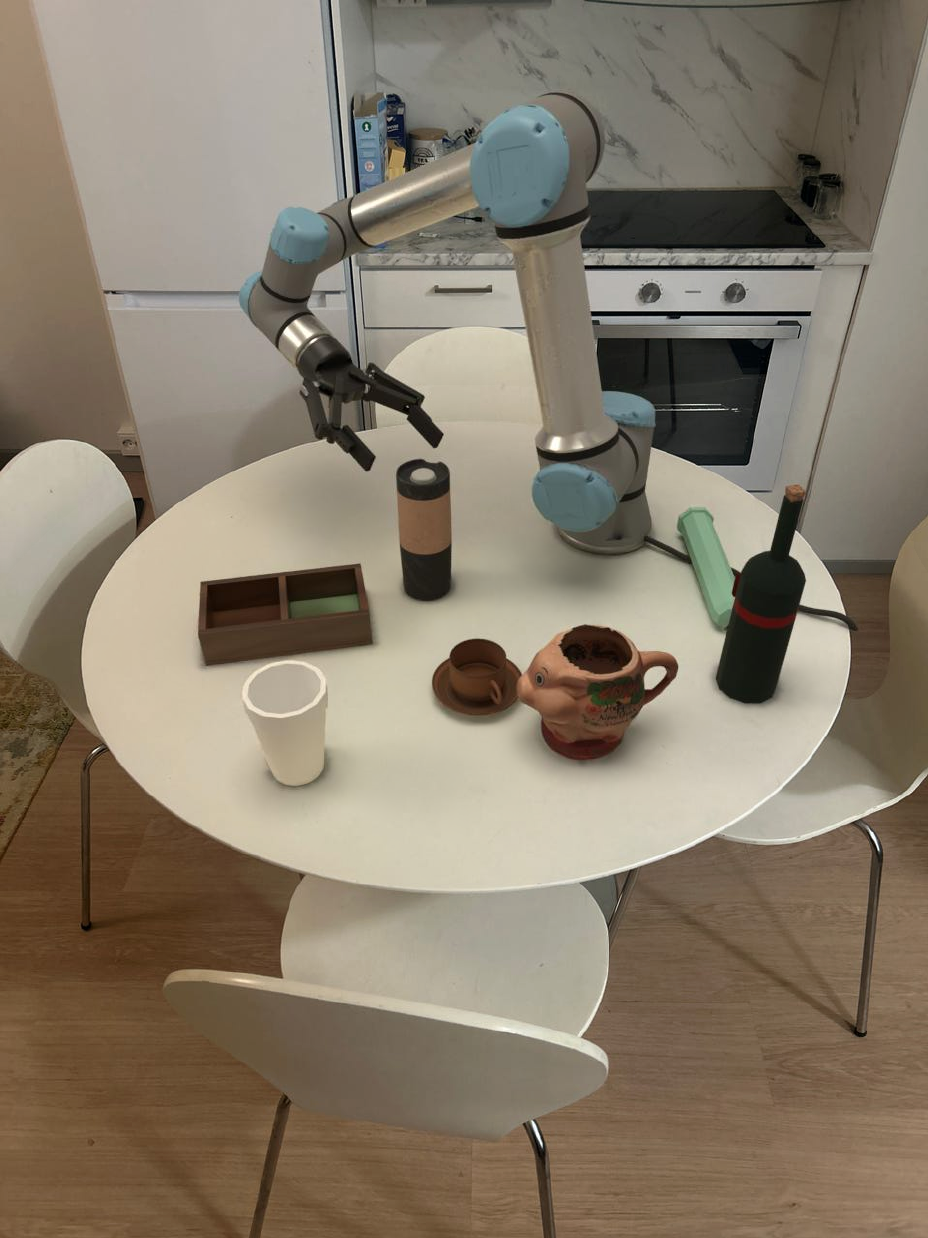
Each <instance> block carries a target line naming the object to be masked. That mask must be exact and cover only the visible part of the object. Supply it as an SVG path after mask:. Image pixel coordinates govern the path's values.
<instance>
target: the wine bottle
mask: <svg viewBox="0 0 928 1238" xmlns="http://www.w3.org/2000/svg"><path fill="white" fill-rule="evenodd" d="M784 493H785V494H784V495H783V497H782V502H781V506H780V509H779V512H778V516H777V517H778V518H777V522H776V525H775V528H774V534H773V537H772V541H771V545H770V549H769V550H765V551H761V552H760V553H757V554H754V555H753V556H751V557H750V558H749V559H748V560H747V561H746V562H745V564H744V565H743V567H742V569H741V571H740V572H741V573H738V574H737V576H736V577H735V576H734V577H735V580H734V585H733V589H732V595H733V597H735V599H734V604H733V608H732V612H731V616H730V620H729V624H728V626H727V627H726V628H725V629H723V631H726V633H725V637H724V641H723V645H722V649H721V654H720V658H719V662H718V666H717V671H716V675H715V681H716V684H717V687H718V690H720V691H721V692H722V694H724V695H726V696H727V697H728V698H729V699H732V700H734V701H737V702H740V703H743V704H763V703H764V702H766V701H768V700H770V699H772V698H773V697H774V694H775V692H776V690H777V687H778V683H779V679H780V676H781V673H782V670H783V665H784V662H785V658H786V655H787V650H788V647H789V644H790V640H791V636H792V633H793V630H794V625H795V622H796V618H797V616H798V612H799V611H798V608H799V605H801V600H802V597H803V594H804V590H805V586H806V583H807V578H806V574H805V572H804V569H803V568H802V566H801V564H800V562H799V561H798V559H796V558H794V557H793V556H791V555H790V553H791V549H792V545H793V541H794V537H795V533H796V530H797V526H798V523H799V519H800V516H801V511H802V507H803V504H804V498H805V495H806V493H807V491H806V490H805V488H803V487H802V486H801V485H800V484H799V483H798V484H790V485H785V492H784Z"/></svg>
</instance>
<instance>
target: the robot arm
mask: <svg viewBox="0 0 928 1238" xmlns="http://www.w3.org/2000/svg"><path fill="white" fill-rule="evenodd" d="M605 147H606V135H605V128H604V124H603V121H602V119H601V116H600V115H599V113H598V111H597V109H596V108H595V107H594V106H593V104H591V102H590V101H588V99H586V98H585V97H583V96H582V95H579V94H578V93H575V92H572V91H566V90H553V91H549V92H546V93H544V94H541V95H539V96H536V98H533V99H531V100H528V101H526V102H524V103H520V104H518V105H516V106H513V107H511V108H508V109H505V110H504V111H503V112H501V113H500V114H499V115H498V116H496V117H495V118H494V119H493V120H492V121H491V122H490V123H489V124H487V126H485V128H484V129H483V130H482V132H481V133H480V134H479V136H478V138H477V140H476V142H473V143H471V144H469V145H466V146H465V147H462V148H460V149H458V150H455V151H453V152H451V153H449V154H446V155H444V156H441V157H439V158H437V159H434V160H432V161H430V162H427V163H425V164H423V165H421V166H418V167H416V168H413V169H412V170H410V171H407V172H405V173H402V174H400V175H398V176H396V177H393V178H391V179H389V180H386V181H384V182H382V183H380V184H377V185H374V186H372V187H370V188H368V189H365V190H363V191H361V192H359V193H357V194H355V195H352V196H349V197H345V198H342V199H339V200H337V201H335V202H334V203H332V204H330V205H328V206H327V207H325V208H323V209H321V210H319V211H317V212H315V211H314V210H312V209H309V208H306V207H302V206H297V207H294V206H287V207H285V208H283V209H281V210H280V211H279V213H278V215H277V218H276V220H275V223H274V226H273V228H272V230H271V232H270V237H269V243H268V247H267V251H266V254H265V258H264V264H263V267H262V269H261V270H258V271H255V272H253V273H252V274H250V275H249V276H248V277H247V278H246V279H245V283H244V284H243V285H241V286H240V289H239V292H238V302H239V306H240V308H241V309H242V311H243V312H244V313H245V315H246V316H247V318H248V319H249V320H250V322H251V324H252V325H253V326H254V327H255V328H257V329H258V330H259V331H260V333H262V334H263V335H264V336H265V337H266V339H267V340H268V341H269V342H270V343H271V344H272V345H273V346H274V347H275V348H276V349H277V351H278V353H280V354H281V355H282V357H284V358H285V359H286V360H287V361H288V363H289V364H290V365H291V366H292V367H293V368H294V369H295V371H297V372H298V374H299V375H300V376H301V377H302V378H303V379H302V383H301V386H300V388H299V389H300V390H299V393H298V394H299V395H300V396H301V398H302V399H303V400H304V402H305V404H306V409H307V412H308V416H309V419H310V423H311V427H312V430H313V434H314V437H315V438H316V439H317V440H319V441H322V440H324V438H325V439H326V442H327V443H328V444H329V445H333V444H335V443H336V444H337V445H338V447H339V448H340V449H341V450H342V451H343V452H344V453H346V454H349V455H350V456H351V457H352V458H353V459H354V461H355V462H356V463H357V464H358V465H359V466H360V467H361V468H362V470H364V471H365V473H367V472H370V471H371V470H372V468H373V465H374V463H375V460H376V458H377V455H375V453H373V452H372V450H371V449H370V447H368V446H367V445H366V444H365V443H364V441H363V440H362V439H361V438H360V436H358V435H357V434H356V432H355V431H354V430H353V429H352V428H351V427H350V426H349V425H348V424H344V425H343V426H342V410H343V409H342V408H343V404H344V405H347V404H350V403H352V402H357V401H364V402H366V403H369V402H373V403H376V404H377V405H381V406H383V407H386V408H389V409H391V410H393V411H396V412H399V413H401V414H404V415H406V416H407V418H406V421H407V422H408V423H409V424H410V425H411V426H412V427H413V428H414V430H416V431H417V433H419V434H420V436H421V437H422V438H423V439H424V440H425V441H426V442H427V443H428V444H429V445H430V446H431V448H432V449H437V448H438V447H439V445H440V443H441V442H442V440H443V437H444V435H445V433H444V432H443V431H442V430H441V429H440V427H438V426H437V425H436V424H435V423H434V422H433V419H432V417H431V416H430V415H429V414H428V413H427V412H426V411H425V410H424V409H423V408H422V405H423V403H424V401H425V398H426V396H425V395H424V394H422V393H421V392H419V391H417V390H416V389H414V388H412V387H411V386H409V385H407V384H406V383H404V382H402V381H401V380H399V379H396V378H395V377H393V376H391V375H390V374H389V373H387V372H385V371H383V370H382V369H381V368H380V367H379V366H377V365H376V364H375V363H374V362H369V363H368V364H367V367H365V368H362V369H361V368H360V367H358V366H356V365H355V364H354V362H353V359H352V355H351V353H350V352H349V350H348V349H346V347H345V346H344V345H343V344H342V343H341V342H340V341H339V340H338V339H337V338H336V337H335V336H334V334H333V333H332V332H331V331H330V330H329V329H328V327H327V326H325V324H323V322H321V321H320V319H319V318H318V317H316V316H315V314H314V313H313V312H312V311H311V310H310V309H309V307H308V303H309V301H310V298H311V295H312V292H313V290H314V287H315V283H316V280H317V278H318V276H319V275H320V274H321V273H323V272H326V271H327V270H328V269H330V268H332V267H334V266H336V265H337V264H339V263H341V262H343V261H344V260H346V259H348V258H351V257H352V256H354V255H357V254H358V253H361V252H364V251H367V250H369V249H371V248H374V247H376V246H379V245H380V244H384V243H386V242H389V241H391V240H394V239H397V238H399V237H402V236H405V235H407V234H410V233H412V232H414V231H418V230H420V229H423V228H425V227H428V226H431V225H434V224H436V223H438V222H441V221H444V220H447V219H449V218H452V217H454V216H457V215H459V214H462V213H464V212H468V211H470V210H473V209H475V208H478V207H479V208H480V209H481V210H482V211H483V212H485V213H486V214H487V215H488V216H489V218H490V219H491V220H492V221H493V225H494V228H495V235H496V239H497V240H498V241H499V242H501V243H502V244H504V245H505V246H506V247H508V249H510V251H511V254H512V259H513V265H514V270H515V275H516V281H517V287H518V292H519V298H520V303H521V310H522V315H523V320H524V326H525V332H526V337H527V343H528V349H529V354H530V355H529V356H530V360H531V366H532V371H533V377H534V382H535V388H536V393H537V399H538V404H539V410H540V416H541V421H542V427H541V428H540V429H539V431H538V432H537V433H536V435H535V437H534V443H535V450H536V454H537V460H538V466H539V471H538V472H537V473H536V474H535V476H534V477H533V482H532V485H531V499H532V502H533V504H534V507H535V508H536V510H537V511H538V513H539V514H540V515H541V516H542V517H543V518H544V519H545V520H546V521H549V522H550V523H552V525H553V526H555V527H556V528H557V532H558V533H559V535H560V536H561V539H563V541H565V542H566V543H567V544H569V545H570V546H572V547H574V548H576V549H579V550H581V551H584V552H587V553H592V554H598V555H620V554H621V555H622V554H626V553H630V552H633V551H635V550H638V549H640V548H641V547H643V546H644V545H645V544H646V543H648V544H649V545H652V546H654V547H656V548H659V549H660V550H662V551H664V552H667V553H668V554H670V555H672V556H674V557H676V558H678V559H680V560H682V561H684V562H686V563H689V564H692V565H693V563H692V561H691V558H690V555H687V554H685V553H683V552H681V551H679V550H677V549H676V548H674V547H672V546H670V545H668V544H666V543H664V542H662V541H659V540H657V539H655V538H653V537H651V533H652V526H653V525H652V515H651V511H650V507H649V501H648V498H647V494H646V487H647V480H648V473H649V466H650V458H651V452H652V451H651V450H652V446H653V445H652V444H653V437H654V432H655V431H654V430H655V428H656V409H655V406H654V405H653V403H651V402H650V401H649V400H647V399H645V398H643V397H641V396H639V395H636V394H633V393H628V392H624V391H623V392H622V391H614V390H603V389H602V383H601V377H600V370H599V363H598V362H599V361H598V355H597V348H596V347H597V346H596V342H595V333H594V327H593V320H592V312H591V304H590V297H589V289H588V282H587V277H586V270H585V269H586V268H585V262H584V254H583V248H582V247H583V246H582V240H581V234H582V231H583V230H584V228H585V227H586V225H587V224H588V223H589V221H590V219H591V213H590V211H591V210H590V205H589V197H588V190H587V183H588V182H589V181H591V179H592V178H593V176H594V175H595V174H596V172H598V169H599V167H600V165H601V163H602V159H603V156H604V151H605ZM367 385H368V386H369V387H368V390H367V392H366V389H367ZM321 395H323V396H325V397H328V406H327V408H328V419H327V415H326V411H325V408H324V405H323V402H322V401H323V400H322V398H321ZM730 568H731V570H732V572H733V575H734V577H736V576H737V574H738V573H741V571H739V570H737V569H735V568H734V567H731V566H730ZM798 612H802V613H804V614H808V615H812V616H820V617H826V618H833V619H836V620H839V621H841V622H843V623H844V624H845V625H846V626H848V628H849V629H850V630H852V631H854V632H858V631H859V628H858V626H857V624H856V623H855V622H854V621H853V620H852V619H851V618H850V617H849V616H847V614H844V613H841V612H839V611H836V610H830V609H821V608H816V607H811V606H806V605H803V604H799V608H798Z"/></svg>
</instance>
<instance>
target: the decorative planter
mask: <svg viewBox="0 0 928 1238" xmlns="http://www.w3.org/2000/svg"><path fill="white" fill-rule="evenodd" d="M655 667H656V668H657V667H662V668H664V669H665V671H666V673H665V675H664V677H662V679H661V680H660V681H659V682H658V683H657V684H656V685H654V687H652V688H651V689H648V688H647V689H646V688H645V687H646V686H645V676H646V673H647V672H648V671H649V670H650V669H652V668H655ZM678 671H679V663H678V661H677V659H676V657H675V656H674V655H673V654H670V653H669V652H666V651H662V650H661V651H660V650H646V651H641V650H639V649H638V648H637V647H636V644H634V642H633V641H632V640H631V639H630V638H629V637H628V636H627V635H626V634H625V633H623V632H621V631H619V630H617V629H615V628H613V627H610V626H605V625H598V624H586V623H585V624H581V625H578V626H574V627H572V628H570V629H566V630H565V631H561V632H559V633H557V634H556V635H554V637H553V638H552V639H551V640H550V641H549V642H548V643H547V644H546V645H545V646H544V647H542V648H541V649H540V650H539V651H537V652H536V653H535V655H534V657H533V658H532V660H531V662H530V664H529V666H528V667H527V669H526V670H525V672H523V673H522V676H521V677H520V678H519V680H518V682H517V695H518V700H519V701H520V702H521V703H523V704H524V705H526V706H528V707H530V708H532V709H534V710H535V711H537V713H539V715H540V717H541V720H540V731H541V735H542V738H543V740H544V742H545V744H546V745H547V746H548V748H550V749H551V750H552V751H553V752H554V753H556V754H557V755H560V756H562V757H564V758H566V759H569V760H573V761H590V760H591V761H593V760H596V759H600V758H604V757H606V756H609V755H611V754H613V753H614V751H615V750H617V748H619V746H620V745H621V744H622V741H623V738H624V736H625V732H626V730H627V729H628V727H630V725H631V724H632V722H634V720H635V719H636V718H637V716H638V715H639V713H640V712H641V711H642V709H643V707H644V706H646V705H647V704H649V703H651V702H652V701H653V700H655V699H656V698H657V697H658V696H660V695H661V694H663V692H664V691H665V689H667V687H668V686H670V685H671V683H672V682H673V681H674V680H675V679H676V678H677V675H678Z"/></svg>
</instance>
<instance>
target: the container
mask: <svg viewBox="0 0 928 1238" xmlns="http://www.w3.org/2000/svg"><path fill="white" fill-rule="evenodd" d="M714 519H715V517H714V515H713V514H712V513H711V512H710V511H709V510H708V509H707V508H706V507H705V506H700V507H699V506H695V507H694V506H690V507H688V509H686V510H685V511H683V512H682V513H681V514H679V515H678V518H677V524H676V529H677V531H678V532H679V533H680V535H682V537H683V541H684V544H685V546H686V549H687V552H688V554H689V555H688V556H690V558H691V561H692V563H693V564H692V566H693V569H694V572H695V575H696V577H697V581H698V583H699V587H700V589H701V592H702V594H703V598H704V601H705V603H706V606H707V609H708V612H709V615H710V617H711V620H712V621H713V622H714V623H715V624H717V626H718V627H720V628H721V629H722V630H724V629H725V628H726V627H727V626H728V624H729V620H730V616H731V612H732V608H733V604H734V599H735V597H733V595H732V589H733V585H734V580H735V576H734V575H733V572H732V570H731V568H730V567H731V565H730V563H729V561H728V557H727V555H726V552H725V550H724V548H723V546H722V545H723V544H722V543H721V541H720V538H719V535H718V532H717V531H716V528H715V525H714V521H715V520H714Z"/></svg>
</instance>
